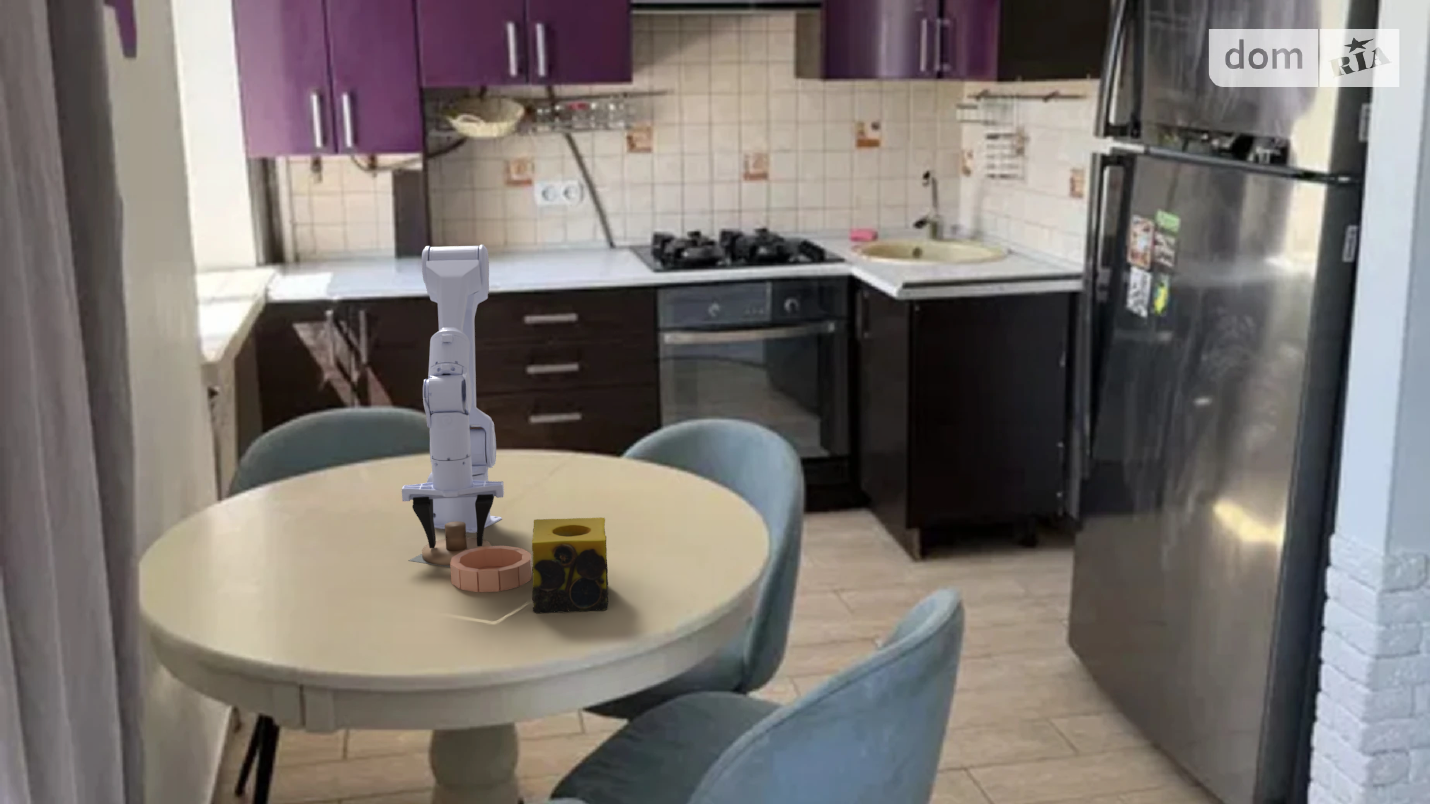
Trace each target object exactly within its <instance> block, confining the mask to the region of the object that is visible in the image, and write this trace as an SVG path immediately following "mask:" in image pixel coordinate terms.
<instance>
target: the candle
mask: <svg viewBox="0 0 1430 804" xmlns="http://www.w3.org/2000/svg"><path fill="white" fill-rule="evenodd" d="M605 523H606V518H605V517H581V518H580V517H578V518H577V517H576V518H572V517H571V518H546V519H544V518H543V519H540V518H539V519H538V518H537V519H533V529H532V533H533V534H532V540H531V549H532V551H531V552H532V578H533V579H532V580H533V581H532V595H531V598H532V603H533V607H532V612H533V613H536V614H542V613H543V614H544V613H547V614H549V613H550V614H551V613H574V612H587V611H589V612H590V611H606V610H607V609H608V606H609V590H608V589H609V587H608V586H609V578H608V574H609V573H608V569H609V568H608V560H607V559H608V556H607V554H608V553H607V551H608V549H607V535H606V528H605Z"/></svg>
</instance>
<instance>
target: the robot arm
mask: <svg viewBox="0 0 1430 804" xmlns="http://www.w3.org/2000/svg"><path fill="white" fill-rule="evenodd" d="M489 261H490V260H489V251H488V248H487V247H486V246H485V244H480V245H460V246H459V245H454V246H453V245H452V246H449V245H448V246H430V245H426V246H425V247H424V248H423V250H422V252H421V274H422V275H421V276H422V280H423V282H424V285H425V288H426V292H427V295H428V296H429V299H430V301H431V302H434V303H436V304H437V317H438V331H437V332H435V333H434V334H433V335H431V337H430V341H429V360H428V375H427V376H428V377H427V378H425V379H423V383H422V384H423V385H422V399H423V400H422V402H423V403H422V404H423V408H424V412H425V416H426V417H425V418H426V426H427V428H429V458H430V464H431V472H430V473H429V475H428V477H427V480H426V482H424V483H415V484H404V485H402V488H401V499H402V502H410V501H412V510H413V512H414V514H415V515H416V517H417V518H418V520H419V522H420V523H421V525H422V528H423V530H424V532H425V534H426V539H427V542H428V544H429V547H430V548H435V545H436V541H437V540H436V538H437V537H436V529H443V530H445V524H446V523H449V522H455V521H460V522H464V523H465V524H466V533H470V534H474V533H476V538H477V546H482V544H483V540H484V532H485V529H486V528H488V527H489V526H491V525H494V524H496V523H498V522H500V521H502V520H503V518H502V517H501V516H496V515H491V509H492V505H493V504H494V500H495V498H500V499H501V498H504V496H505V488H504V487H505V486H504V481H502V480H501V481H496V480H495V481H492V480H489V469H491V468H493V467H494V466H495V464H496V461H497V441H496V440H497V439H496V432H495V424H494V421H493V420H492V417H491V416H489V415H488V414H486V412H483V411H482V410H481V409H479V408H478V407H477V384H476V382H477V380H476V379H477V378H476V377H477V375H476V337H475V336H476V332H475V331H476V330H475V329H476V327H475V325H476V324H475V316H476V314H477V310H478V309H477V308H478V305H479V304H480V303H482V302H484V301H486V300H487V299H488V298H489V295H488V294H489V293H490V262H489ZM472 428H473V429H472Z"/></svg>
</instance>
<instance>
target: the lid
mask: <svg viewBox="0 0 1430 804" xmlns="http://www.w3.org/2000/svg"><path fill="white" fill-rule="evenodd" d="M444 532H445V538H444V539H443V538H442V539H438V540H436V545H435V548H430V547H429V543H427V544H426V545H424V546H423V547H422V549H421V554H422V558H423V560H425V561H426V562H428V563H431V564H430V565H432V564H436V565H435V566H439V565H445V566H450V562H451V559H452V557H453V556H455V555H457V554H459V553H461V552H463V551H465V550H469V549H474V548H478V547H484V546H492V545H491V543H490V542H489V541H488V540H486V539H483V544H482V546H477V537H472V536H471V537H470V536H469V537H468V536H467V532H466V524H465V523H464V522H460V521H455V522H449V523H446V524H445V529H444ZM445 566H444V567H445Z"/></svg>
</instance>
